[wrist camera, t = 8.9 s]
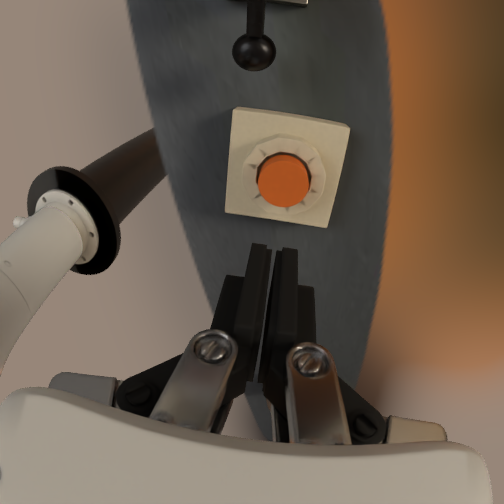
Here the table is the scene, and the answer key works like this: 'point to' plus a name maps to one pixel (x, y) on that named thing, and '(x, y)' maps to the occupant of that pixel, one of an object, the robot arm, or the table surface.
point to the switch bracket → (288, 2)
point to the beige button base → (284, 143)
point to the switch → (254, 41)
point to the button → (283, 181)
